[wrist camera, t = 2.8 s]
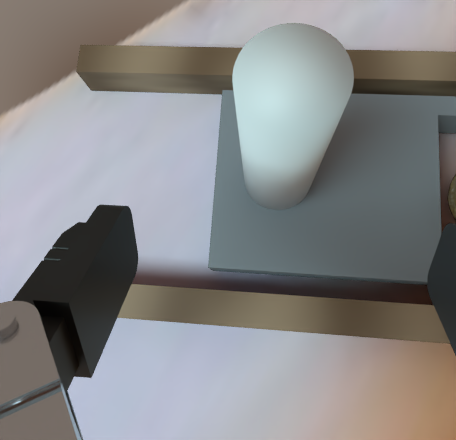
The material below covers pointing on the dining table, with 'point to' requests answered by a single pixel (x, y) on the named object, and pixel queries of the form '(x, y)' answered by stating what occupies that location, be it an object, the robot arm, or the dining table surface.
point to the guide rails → (262, 302)
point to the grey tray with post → (324, 167)
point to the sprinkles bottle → (452, 197)
